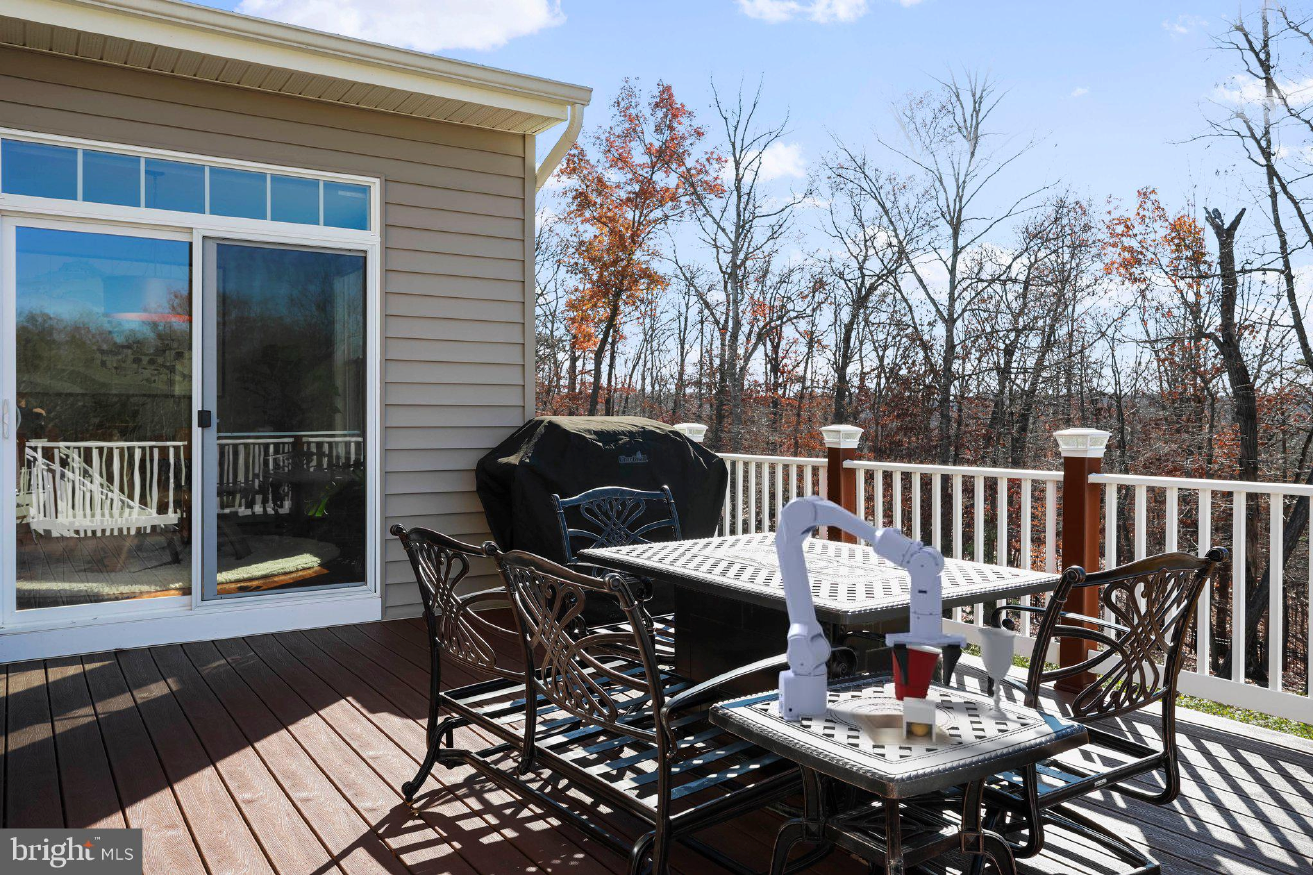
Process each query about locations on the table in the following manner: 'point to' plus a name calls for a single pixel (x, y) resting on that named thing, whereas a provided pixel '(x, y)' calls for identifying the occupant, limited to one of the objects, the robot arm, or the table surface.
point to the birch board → (896, 731)
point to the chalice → (997, 662)
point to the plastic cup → (916, 672)
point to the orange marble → (919, 728)
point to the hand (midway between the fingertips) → (925, 684)
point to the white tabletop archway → (919, 714)
